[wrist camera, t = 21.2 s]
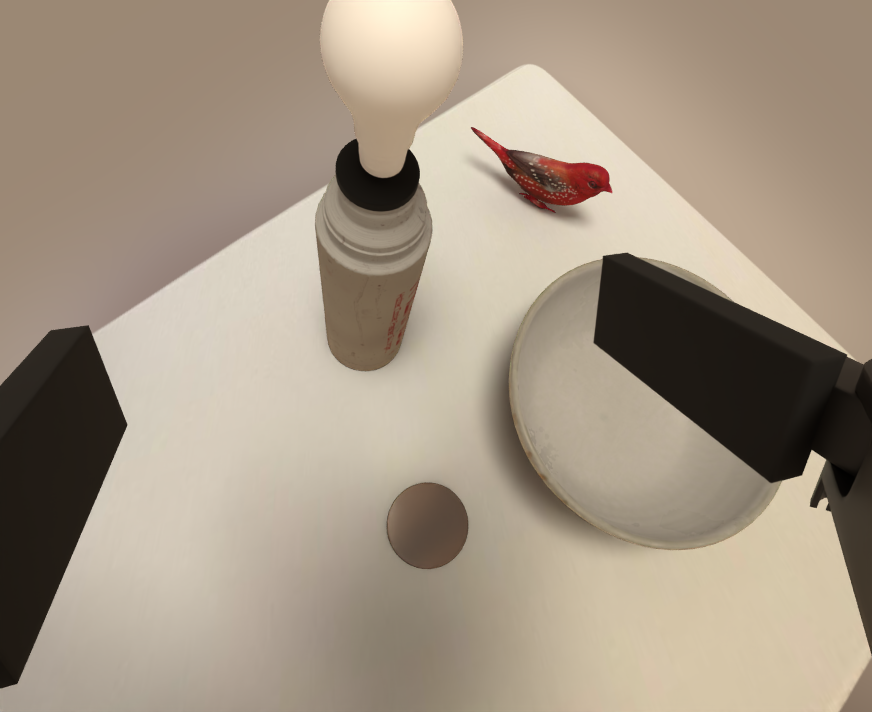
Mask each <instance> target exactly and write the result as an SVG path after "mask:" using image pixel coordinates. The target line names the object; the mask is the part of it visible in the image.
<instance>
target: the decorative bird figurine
mask: <svg viewBox="0 0 872 712" xmlns="http://www.w3.org/2000/svg"><path fill="white" fill-rule="evenodd" d="M471 129H472V130H473V132H474V133H475V134H476V135H477V136H478V137H479V138H480V139H481V140H482V141H483V142H484V143H486V145H488V146H489V147H490V148H491V149H492V150H493V151H494V152H495V153H496V155H497V156H498V157H499V159H500V160H501V162H502V164H503V166H504V168H505V169H506V172H507V173H508V174H509V176H511V177H512V178H513V179H514V180H515V181H516V182H517V183H518V184H519V186H520V187H521V188H522V189H523V190H524V191H525V192H526V193H528V195H527V194H525V193H519V194H521V195H525V196H524V198H526V199H528V200H530V201H531V202H532V203H534V204H535V205H537V206H538V207H540V208H542V209H548V210H550V211H552V212H554V213H556V212H555V211H554V210H552V209H549V208H548V207H547V206H546V205H545V204H544V203H543V202H546V203H549V204H554V205H574V204H578V203H581V202H583V201H585V200H586V199H588V198H590V197H594V196H596V195H598V194H599V193H600V192H602V191H606V192H610V193H612V189H611V187H610V184H609V174H608V172H607V170H606V169H605V168H603V167H601V166H599V165H595V164H590V163H566V162H562V161H558V160H554V159H551V158H548V157H545V156H542V155H538V154H533V153H529V152H524V151H517V150H508V149H506V148H504V147H503V146H501V145H500V144H498V143H497V142H495V141H494V140H492V139H491V138H489V137H488V136H486V135H485V134H484V133H482V132H481V131H479V130H477V129H475V128H473V127H471ZM539 200H541V201H543V202H541V201H539Z"/></svg>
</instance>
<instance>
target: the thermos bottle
mask: <svg viewBox="0 0 872 712" xmlns="http://www.w3.org/2000/svg"><path fill="white" fill-rule="evenodd" d="M358 145H359V143H358V141H357V139H355V140H353V141H351V142H349V143H348V144H347V145H345V147H344V148H343V149H342V150H341V151H340V153H339V155H338V158H337V161H336V175H335V176H334V177H333V178H332V179H331V181H330V183H329V185H328V187H327V190H326V193H324V195H323V197H322V199H321V201H320V203H319V204H318V208H317V211H316V217H315V229H316V238H317V248H318V257H319V266H320V275H321V285H322V294H323V302H324V311H325V322H326V331H327V339H328V345H329V347H330V350H331V352H332V353H333V355H334V356H335V358H336V359H337V360H338V361H339V362H340V363H342V364H344V365H345V366H347V367H349V368H351V369H354V370H359V371H371V370H376V369H378V368H381V367H383V366H385V365H386V364H388V363H389V362H390V361H391V360H392V359H393V358H394V357H395V356H396V354H397V353H398V350H399V348H400V346H401V342H402V339H403V335H404V332H405V328H406V325H407V321H408V318H409V314H410V311H411V307H412V304H413V301H414V297H415V294H416V290H417V287H418V283H419V280H420V276H421V273H422V269H423V266H424V262H425V259H426V256H427V252H428V249H429V245H430V242H431V236H432V219H431V215H430V212H429V209H428V207H427V201H426V197H425V193H424V191H423V189H422V187H421V185H420V184H419V178H420V169H419V165H418V162H417V160H416V158H415V156H414V155H413V153H412V152H411V151H410V150H409V149H408V150H407V154H406V157H405V162H404V165H403V167H402V169H401V171H400V172H399V173H397V174H396V175H394V176H392V177H388V178H380V177H376V176H373V175H371V174H369V173H368V172H367V171H366V170H365V169H364V168H363V167H362V165H361V163H360V157H359V146H358Z"/></svg>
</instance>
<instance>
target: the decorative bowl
mask: <svg viewBox="0 0 872 712" xmlns="http://www.w3.org/2000/svg"><path fill="white" fill-rule="evenodd" d="M637 258H639V257H637ZM640 259H642V260H644V261H646V262H648V263H650V264H652V265H655V266H657V267H659V268H661V269H663V270H665V271H668V272H670V273H672V274H674V275H676V276H678V277H681V278H683V279H685V280H687V281H689V282H691V283H693V284H696V285H698V286H700V287H702V288H704V289H706V290H709V291H711V292H713V293H715V294H717V295H719V296H722V297H724V298H726V299H728V300H730V301H732V300H731V299H730V298H729V297H728V296H726V295H725V294H724V293H723V292H722V291H720V290H719V289H718V288H716V287H715V286H713V285H712V284H710V283H709V282H707V281H706V280H704V279H702V278H701V277H699V276H697V275H695V274H693V273H691V272H689V271H687V270H685V269H682V268H680V267H677V266H675V265H672V264H668V263H665V262H662V261H657V260H653V259H647V258H640ZM602 262H603V259H601V260H597V261H593V262H590V263H586V264H584V265H581V266H579V267H576V268H575V269H573V270H571V271H569V272H567V273H565V274H564V275H562V276H561V277H559V278H558V279H556V280H555V281H554V282H552V283H551V284H550V285H549V286H548V287H547V288H546V289H545V290H544V291H543V292H542V293H541V294H540V295H539V296H538V298H537V299H536V300H535V302H534V303H533V304H532V306H531V307H530V309H529V310H528V312H527V314H526V315H525V317H524V319H523V321H522V323H521V326H520V328H519V331H518V333H517V336H516V339H515V343H514V346H513V350H512V355H511V361H510V369H509V396H510V405H511V411H512V416H513V421H514V424H515V428H516V431H517V434H518V437H519V440H520V442H521V444H522V447H523V449H524V451H525V453H526V455H527V457H528V459H529V461H530V462H531V464H532V465H533V467H534V469H535V470H536V472H537V473H538V475H539V476H540V477H541V479H542V480H543V481H544V483H545V484H546V485H547V486H548V487H549V489H550V490H551V491H552V492H553V493H554V494H555V495H556V496H557V497H558V498H559V499H560V500H561V501H562V502H563V503H564V504H565V505H566V506H568V507H569V508H570V509H571V510H572V511H574V512H575V513H576V514H577V515H579V516H580V517H581V518H583V519H584V520H586V521H587V522H589V523H590V524H592V525H594V526H595V527H597V528H599V529H601V530H603V531H604V532H606V533H608V534H611V535H613V536H615V537H617V538H620V539H622V540H625V541H628V542H631V543H634V544H637V545H641V546H645V547H650V548H656V549H665V550H687V549H695V548H701V547H706V546H709V545H713V544H716V543H718V542H721V541H723V540H726V539H728V538H730V537H732V536H734V535H736V534H737V533H739V532H740V531H742V530H743V529H745V528H746V527H747V526H749V525H750V524H751V523H752V522H753V521H754V520H755V519H756V518H757V517H758V516H760V515H761V513H762V512H763V511H764V510H765V509H766V507H767V506H768V505H769V503H770V502H771V500H772V499H773V497H774V496H775V494H776V492H777V490H778V489H779V486H780V484H781V482H782V481H779V482H775V483H770V482H768V481H767V480H766V479H765V478H763V477H762V476H761V475H760V474H758V473H757V472H756V471H754V470H753V469H752V468H751V467H749V466H748V465H747V464H746V463H744V462H743V461H742V460H741V459H739V458H738V457H737V456H736V455H734V454H733V453H732V452H730V451H729V450H728V449H727V448H725V447H724V446H723V445H722V444H720V443H719V442H718V441H717V440H715V439H714V438H713V437H712V436H710V435H709V434H708V433H706V432H705V431H704V430H703V429H701V428H700V427H699V426H698V425H696V424H695V423H694V422H693V421H691V420H690V419H689V418H688V417H686V416H685V415H684V414H682V413H681V412H680V411H679V410H677V409H676V408H675V407H674V406H672V405H671V404H670V403H669V402H667V401H666V400H665V399H663V398H662V397H661V396H660V395H658V394H657V393H656V392H655V391H653V390H652V389H651V388H650V387H648V386H647V385H646V384H645V383H643V382H642V381H641V380H639V379H638V378H637V377H636V376H634V375H633V374H632V373H631V372H629V371H628V370H627V369H626V368H624V367H623V366H622V365H621V364H619V363H618V362H617V361H615V360H614V359H613V358H612V357H610V356H609V355H608V354H607V353H605V352H604V351H603V350H602V349H600V348H599V347H598V346H597V345H595V344H594V343H593V341H594V332H595V324H596V315H597V306H598V297H599V288H600V280H601V271H602ZM732 302H733V301H732Z"/></svg>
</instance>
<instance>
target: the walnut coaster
mask: <svg viewBox="0 0 872 712" xmlns="http://www.w3.org/2000/svg"><path fill="white" fill-rule="evenodd" d="M387 534H388V539H389V541H390V544H391V546H392V548H393V550H394V551H395V553H396V554H397V555H398V556H399V557H400V558H401V559H402V560H403V561H405V562H406V563H408V564H410V565H412V566H414V567H417V568H422V569H432V568H437V567H441V566H443V565H445V564H447V563H449V562H450V561H451V560H453V559H454V558H455V557H456V556H457V555H458V554H459V552H460V551H461V549H462V548H463V546H464V544H465V541H466V538H467V534H468V518H467V513H466V510H465V508H464V506H463V504H462V502H461V500H460V499H459V498H458V496H457V495H456V494H455V493H454V492H452V491H451V490H450V489H448V488H447V487H444V486H442V485H439V484H436V483H420V484H416V485H413V486H411V487H409V488H407V489H406V490H404V491H403V492H402V493H401V494H400V495H399V496H398V497H397V498H396V499H395V501H394V502H393V504H392V506H391V508H390V510H389V514H388V518H387Z"/></svg>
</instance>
